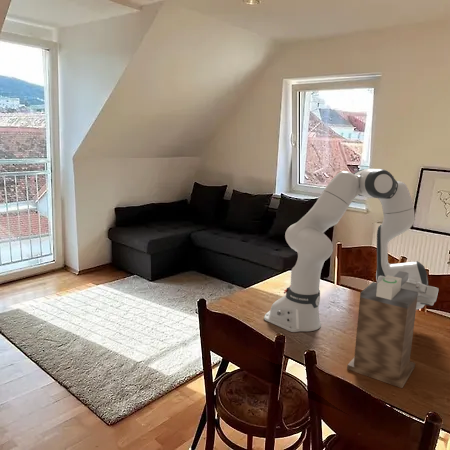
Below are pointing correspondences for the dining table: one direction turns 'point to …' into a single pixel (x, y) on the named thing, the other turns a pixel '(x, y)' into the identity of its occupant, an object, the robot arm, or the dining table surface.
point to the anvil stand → (385, 336)
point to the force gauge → (391, 285)
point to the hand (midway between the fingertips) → (403, 282)
